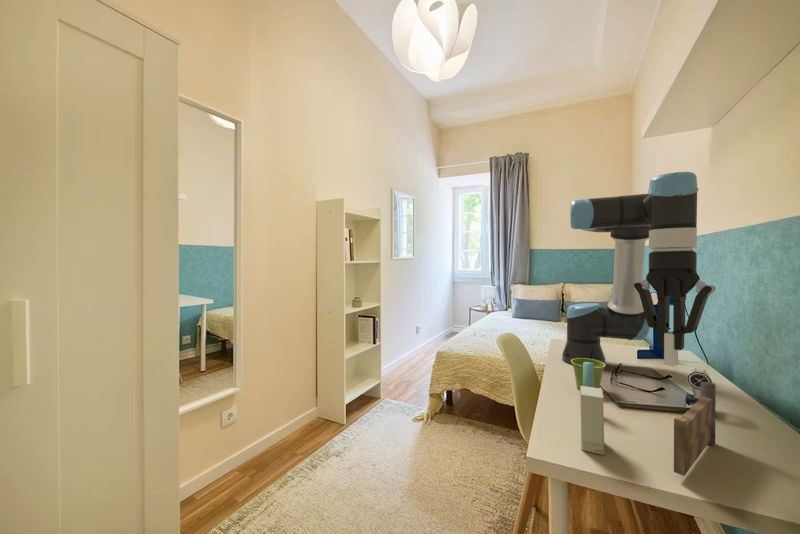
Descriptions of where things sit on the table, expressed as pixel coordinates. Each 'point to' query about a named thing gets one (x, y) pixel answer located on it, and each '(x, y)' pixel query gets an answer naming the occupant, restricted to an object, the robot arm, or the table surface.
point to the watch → (696, 384)
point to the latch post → (588, 374)
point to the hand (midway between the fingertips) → (671, 363)
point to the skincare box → (592, 419)
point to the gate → (695, 429)
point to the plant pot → (597, 371)
